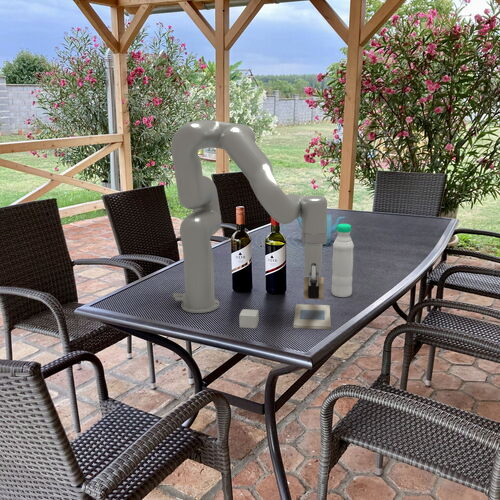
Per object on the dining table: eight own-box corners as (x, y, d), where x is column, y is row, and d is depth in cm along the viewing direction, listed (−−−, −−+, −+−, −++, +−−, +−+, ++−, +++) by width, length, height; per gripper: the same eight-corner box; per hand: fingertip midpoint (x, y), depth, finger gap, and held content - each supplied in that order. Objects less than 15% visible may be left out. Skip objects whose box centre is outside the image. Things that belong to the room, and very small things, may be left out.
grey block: (239, 327, 156) (239, 315, 155) (242, 321, 161) (242, 309, 160) (255, 328, 155) (255, 316, 154) (258, 322, 160) (258, 310, 159)
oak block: (303, 298, 158) (303, 283, 157) (304, 292, 164) (304, 277, 162) (323, 299, 157) (323, 283, 156) (323, 292, 163) (323, 277, 162)
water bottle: (349, 290, 186) (352, 222, 179) (353, 297, 179) (356, 226, 172) (329, 291, 186) (331, 222, 179) (333, 298, 179) (335, 227, 172)
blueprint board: (293, 328, 155) (293, 324, 155) (295, 307, 171) (295, 304, 171) (330, 329, 154) (330, 326, 154) (329, 308, 170) (329, 305, 170)
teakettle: (317, 250, 239) (318, 218, 235) (290, 241, 254) (291, 212, 250) (346, 243, 250) (347, 213, 246) (319, 235, 264) (319, 207, 260)
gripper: (302, 230, 164) (302, 284, 169) (300, 244, 148) (300, 304, 153) (326, 230, 163) (325, 285, 168) (327, 244, 147) (326, 304, 152)
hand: (313, 293), depth 160 cm, fingers closed on oak block, 6 cm apart
